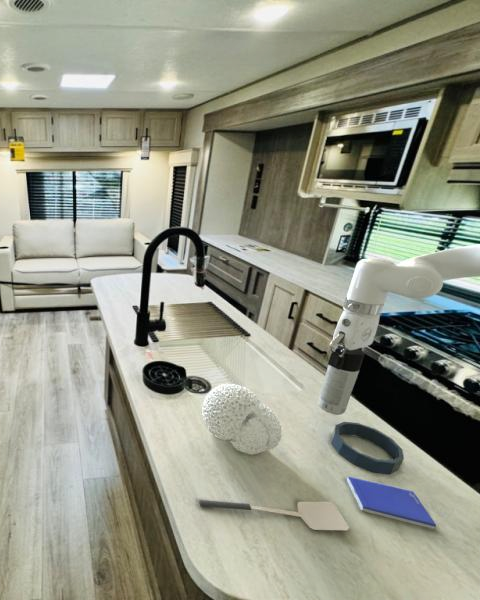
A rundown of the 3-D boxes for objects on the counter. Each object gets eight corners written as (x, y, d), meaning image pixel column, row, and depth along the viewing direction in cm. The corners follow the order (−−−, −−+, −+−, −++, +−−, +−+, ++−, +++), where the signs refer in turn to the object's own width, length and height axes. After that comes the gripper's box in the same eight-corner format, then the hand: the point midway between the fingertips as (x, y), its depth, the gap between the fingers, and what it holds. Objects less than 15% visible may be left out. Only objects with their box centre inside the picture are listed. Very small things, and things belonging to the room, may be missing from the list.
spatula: (348, 534, 65) (350, 530, 64) (202, 517, 69) (203, 512, 68) (331, 506, 71) (332, 501, 70) (196, 491, 74) (197, 487, 74)
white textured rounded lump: (188, 419, 85) (228, 374, 82) (192, 407, 101) (226, 369, 98) (254, 480, 77) (301, 432, 75) (248, 457, 93) (286, 417, 91)
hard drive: (413, 490, 72) (348, 475, 76) (436, 525, 65) (363, 506, 69) (410, 495, 72) (346, 480, 76) (434, 530, 65) (361, 511, 69)
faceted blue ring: (351, 427, 92) (355, 416, 91) (410, 464, 80) (415, 452, 79) (319, 440, 88) (323, 429, 86) (376, 481, 76) (382, 469, 74)
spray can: (350, 416, 90) (371, 356, 82) (324, 414, 91) (343, 355, 84) (336, 401, 96) (355, 344, 89) (312, 399, 97) (328, 343, 90)
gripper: (357, 317, 76) (336, 378, 82) (400, 306, 81) (378, 364, 88) (325, 306, 82) (308, 363, 89) (367, 296, 88) (348, 351, 94)
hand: (343, 363), depth 88 cm, fingers closed on spray can, 6 cm apart
